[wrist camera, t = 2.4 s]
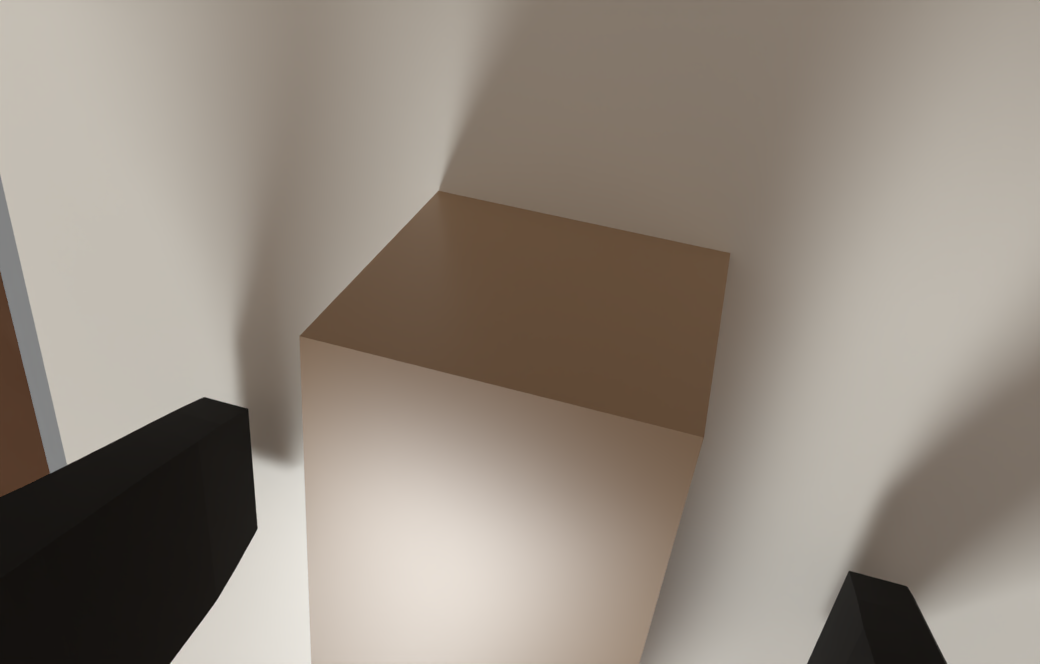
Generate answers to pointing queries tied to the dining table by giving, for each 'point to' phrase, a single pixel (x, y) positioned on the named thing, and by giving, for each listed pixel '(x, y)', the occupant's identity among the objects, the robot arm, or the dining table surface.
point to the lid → (556, 309)
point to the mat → (28, 340)
